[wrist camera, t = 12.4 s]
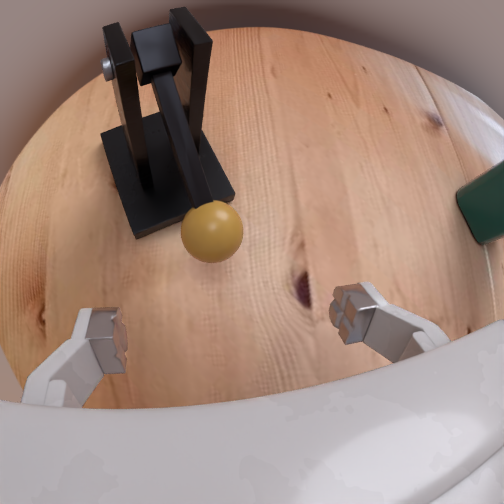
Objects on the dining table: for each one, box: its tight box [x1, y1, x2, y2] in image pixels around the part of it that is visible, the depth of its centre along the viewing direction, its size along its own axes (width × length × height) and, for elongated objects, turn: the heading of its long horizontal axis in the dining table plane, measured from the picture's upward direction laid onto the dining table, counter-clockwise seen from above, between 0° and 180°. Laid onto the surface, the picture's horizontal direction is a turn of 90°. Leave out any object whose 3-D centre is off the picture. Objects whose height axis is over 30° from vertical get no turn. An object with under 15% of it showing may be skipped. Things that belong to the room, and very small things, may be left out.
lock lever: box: [130, 23, 243, 263], centre depth 16 cm, size 14×4×4 cm, turn 27°
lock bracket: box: [100, 7, 235, 240], centre depth 19 cm, size 11×9×15 cm
